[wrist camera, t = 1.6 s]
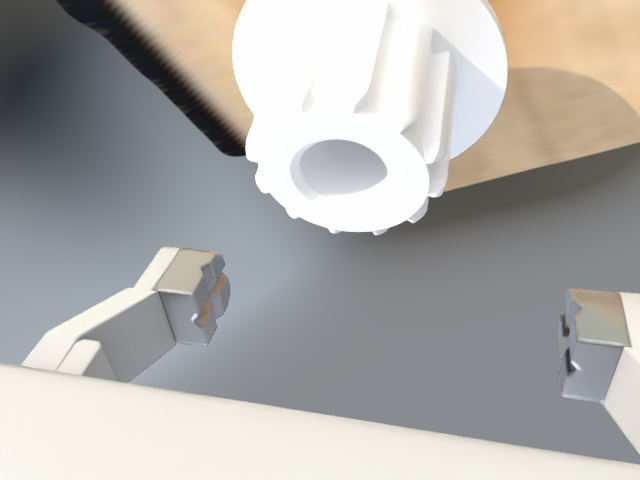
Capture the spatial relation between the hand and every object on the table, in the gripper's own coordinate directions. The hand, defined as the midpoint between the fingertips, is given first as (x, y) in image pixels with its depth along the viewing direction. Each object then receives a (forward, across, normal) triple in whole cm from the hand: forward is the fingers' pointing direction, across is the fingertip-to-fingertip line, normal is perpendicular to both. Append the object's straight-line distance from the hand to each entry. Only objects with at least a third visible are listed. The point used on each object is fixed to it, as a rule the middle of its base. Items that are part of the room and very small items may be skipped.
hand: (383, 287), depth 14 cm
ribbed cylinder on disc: (+47, +8, +12) cm, 49 cm away
